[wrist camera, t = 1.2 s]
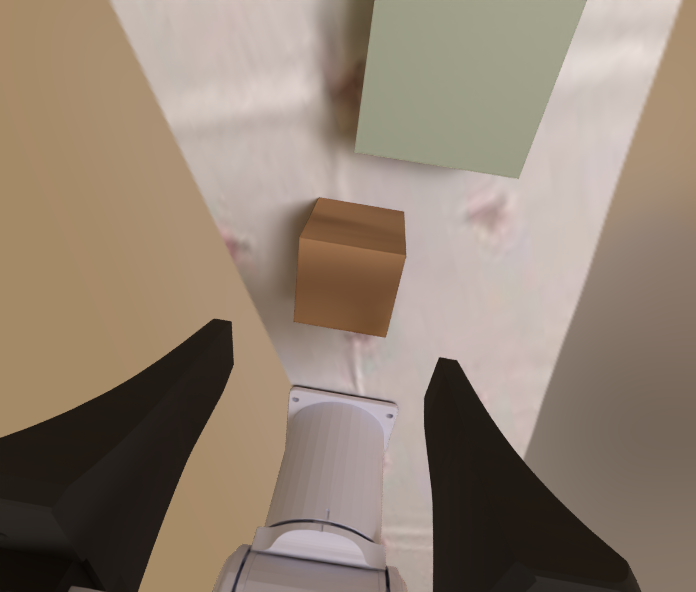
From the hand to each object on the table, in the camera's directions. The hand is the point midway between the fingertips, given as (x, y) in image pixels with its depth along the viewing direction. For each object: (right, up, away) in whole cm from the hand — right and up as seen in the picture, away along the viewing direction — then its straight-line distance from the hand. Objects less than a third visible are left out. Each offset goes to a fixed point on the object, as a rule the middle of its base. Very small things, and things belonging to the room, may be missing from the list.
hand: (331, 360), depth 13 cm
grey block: (+5, +12, +3) cm, 13 cm away
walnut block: (+1, +5, +8) cm, 10 cm away
